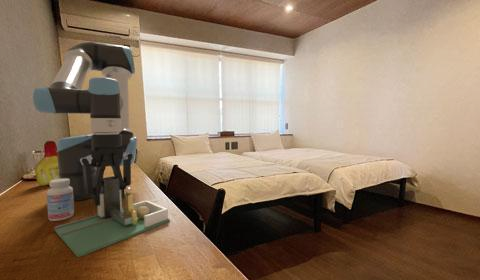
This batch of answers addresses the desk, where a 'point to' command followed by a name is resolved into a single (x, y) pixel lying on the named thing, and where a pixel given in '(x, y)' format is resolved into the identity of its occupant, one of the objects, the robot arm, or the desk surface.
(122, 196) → the robot arm
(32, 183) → the desk surface
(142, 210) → the ball
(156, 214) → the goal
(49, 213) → the pill bottle
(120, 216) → the block
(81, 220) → the board
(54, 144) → the bottle
